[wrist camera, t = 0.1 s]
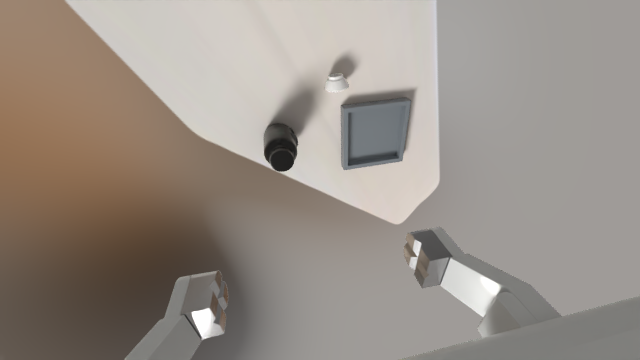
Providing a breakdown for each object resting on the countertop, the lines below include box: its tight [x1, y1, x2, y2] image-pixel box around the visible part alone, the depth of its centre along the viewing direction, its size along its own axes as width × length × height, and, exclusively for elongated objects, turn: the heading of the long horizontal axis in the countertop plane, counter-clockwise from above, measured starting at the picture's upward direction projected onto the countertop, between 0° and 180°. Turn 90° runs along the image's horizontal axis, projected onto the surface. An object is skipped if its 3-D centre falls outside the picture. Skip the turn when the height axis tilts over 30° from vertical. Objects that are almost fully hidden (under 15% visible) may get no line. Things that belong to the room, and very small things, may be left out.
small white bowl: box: [324, 73, 349, 92], centre depth 52 cm, size 5×3×5 cm, turn 97°
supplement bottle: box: [264, 124, 297, 172], centre depth 53 cm, size 7×7×12 cm
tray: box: [341, 98, 411, 170], centre depth 62 cm, size 16×16×2 cm
